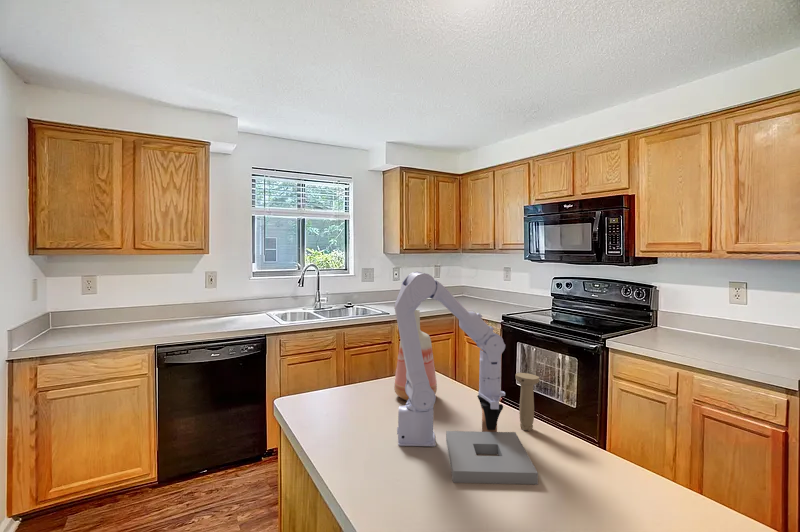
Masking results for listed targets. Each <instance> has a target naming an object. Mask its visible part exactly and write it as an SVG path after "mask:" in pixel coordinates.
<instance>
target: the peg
mask: <svg viewBox="0 0 800 532" xmlns="http://www.w3.org/2000/svg"><path fill="white" fill-rule="evenodd" d="M481 432H498V424H497V425H496V429H495V430H487V427H486V421H485V414H484V410H483V408H481Z"/></svg>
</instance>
